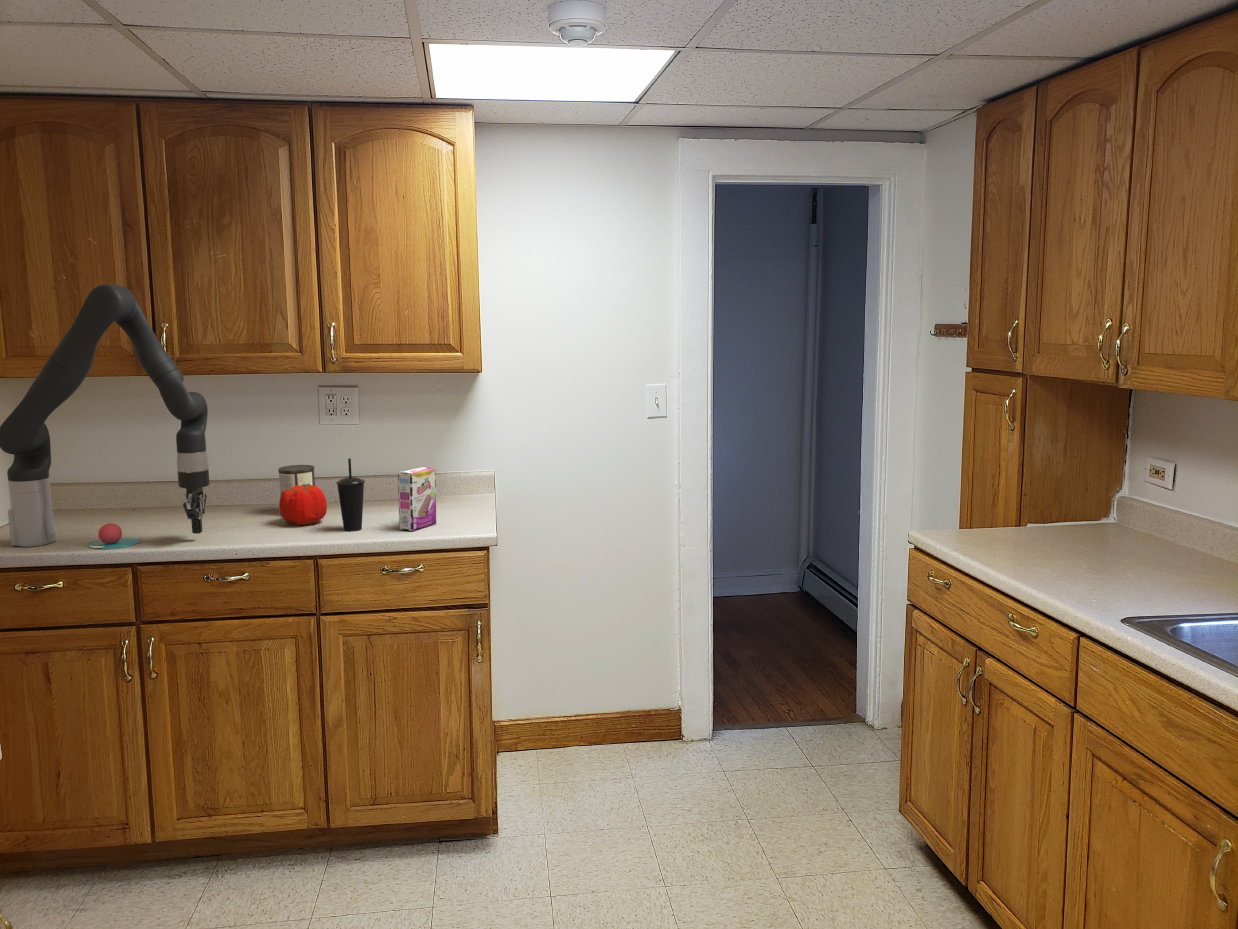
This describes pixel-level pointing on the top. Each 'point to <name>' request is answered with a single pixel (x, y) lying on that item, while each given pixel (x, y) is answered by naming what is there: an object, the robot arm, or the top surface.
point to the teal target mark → (117, 543)
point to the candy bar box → (417, 498)
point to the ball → (110, 533)
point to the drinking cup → (351, 501)
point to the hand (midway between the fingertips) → (197, 532)
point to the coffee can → (296, 476)
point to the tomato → (303, 505)
